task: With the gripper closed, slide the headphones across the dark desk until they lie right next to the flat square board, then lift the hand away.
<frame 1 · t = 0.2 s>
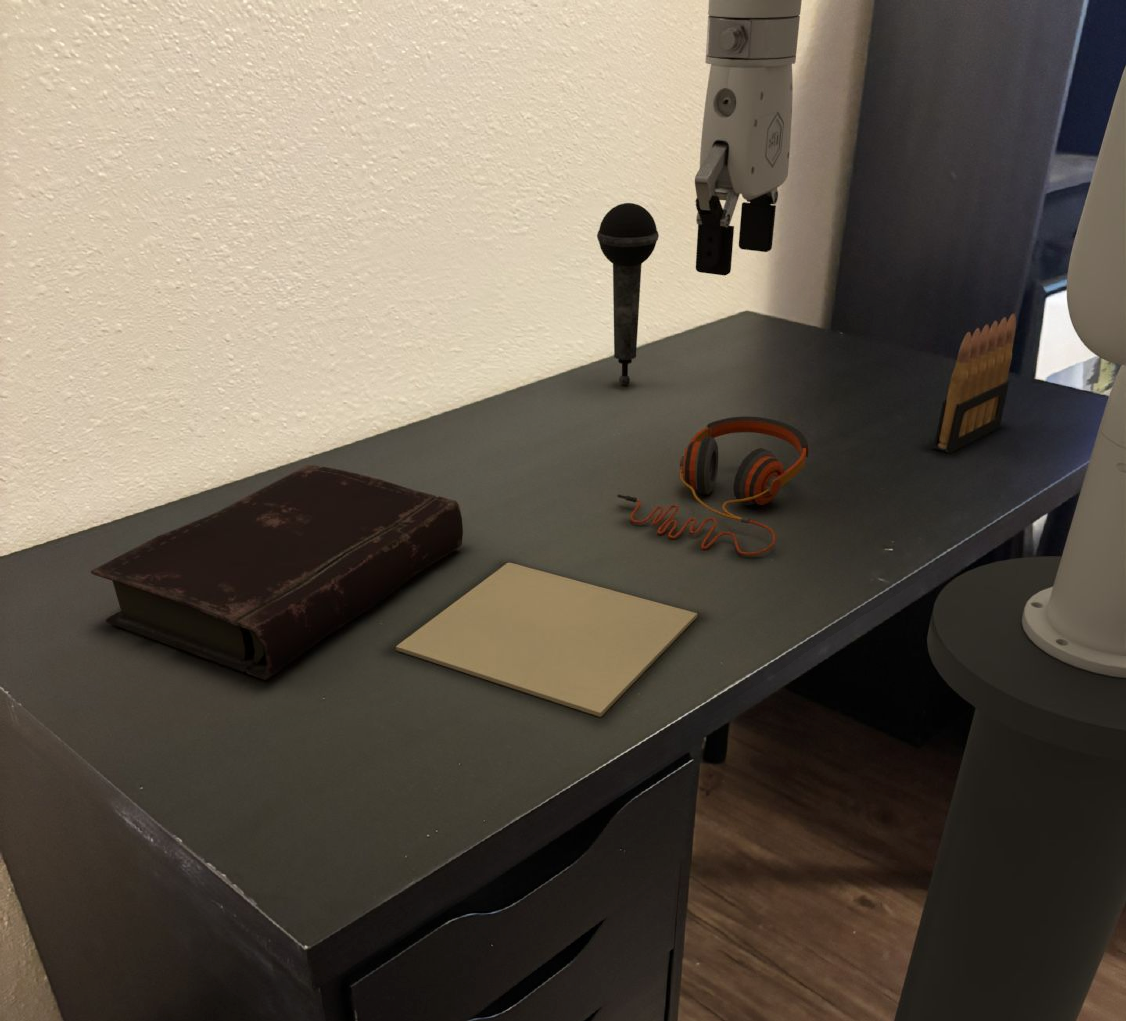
hand: (734, 261, 102), 19 cm above the table, tool pointing down, fingers open, 9 cm apart
ammunition clip: (966, 439, 119), on the table
diary: (293, 587, 94), on the table
flat square board: (549, 633, 87), on the table
microphone: (624, 387, 133), on the table
headphones: (723, 505, 106), on the table
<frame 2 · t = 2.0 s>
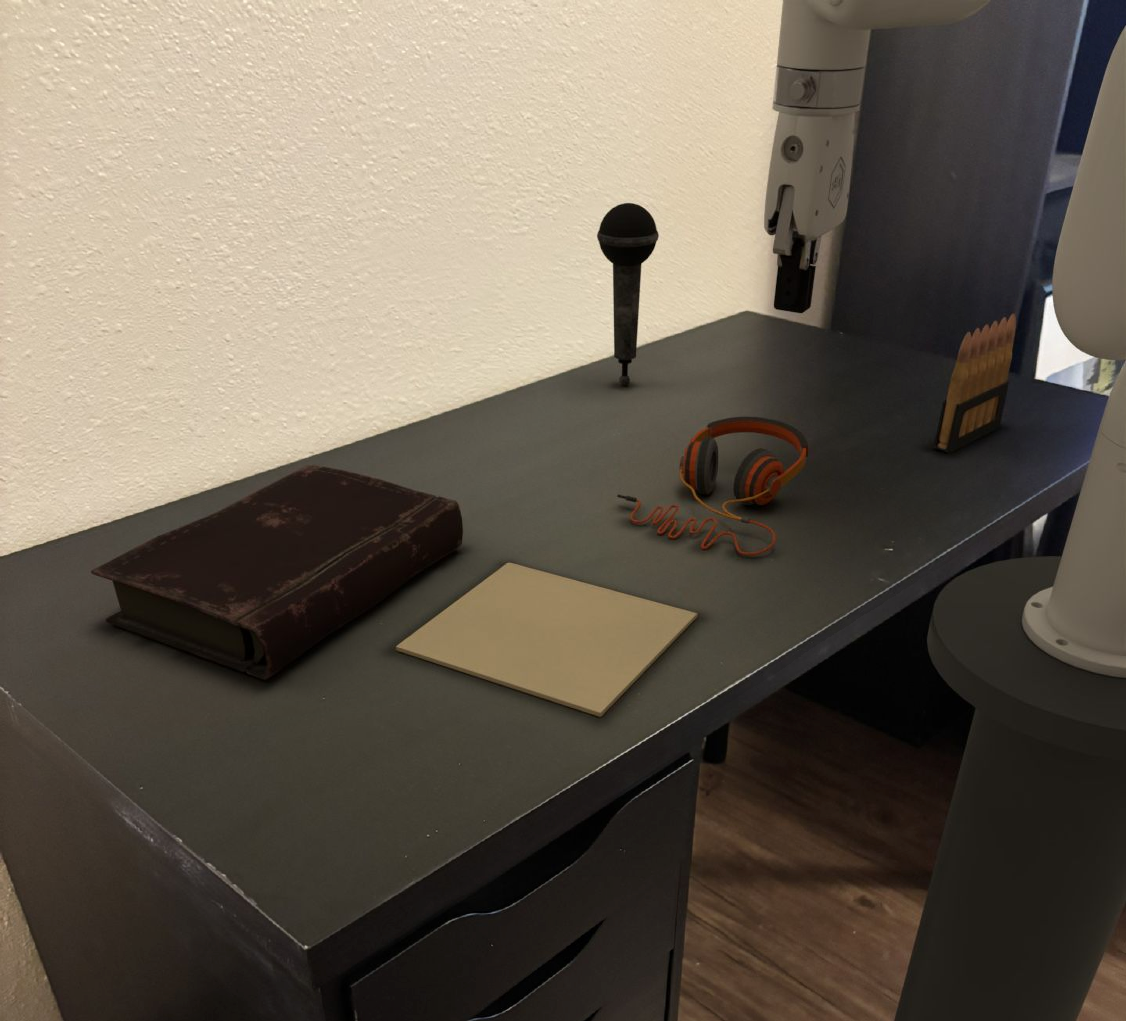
hand: (791, 308, 107), 15 cm above the table, tool pointing down, fingers closed
nothing on the table moved.
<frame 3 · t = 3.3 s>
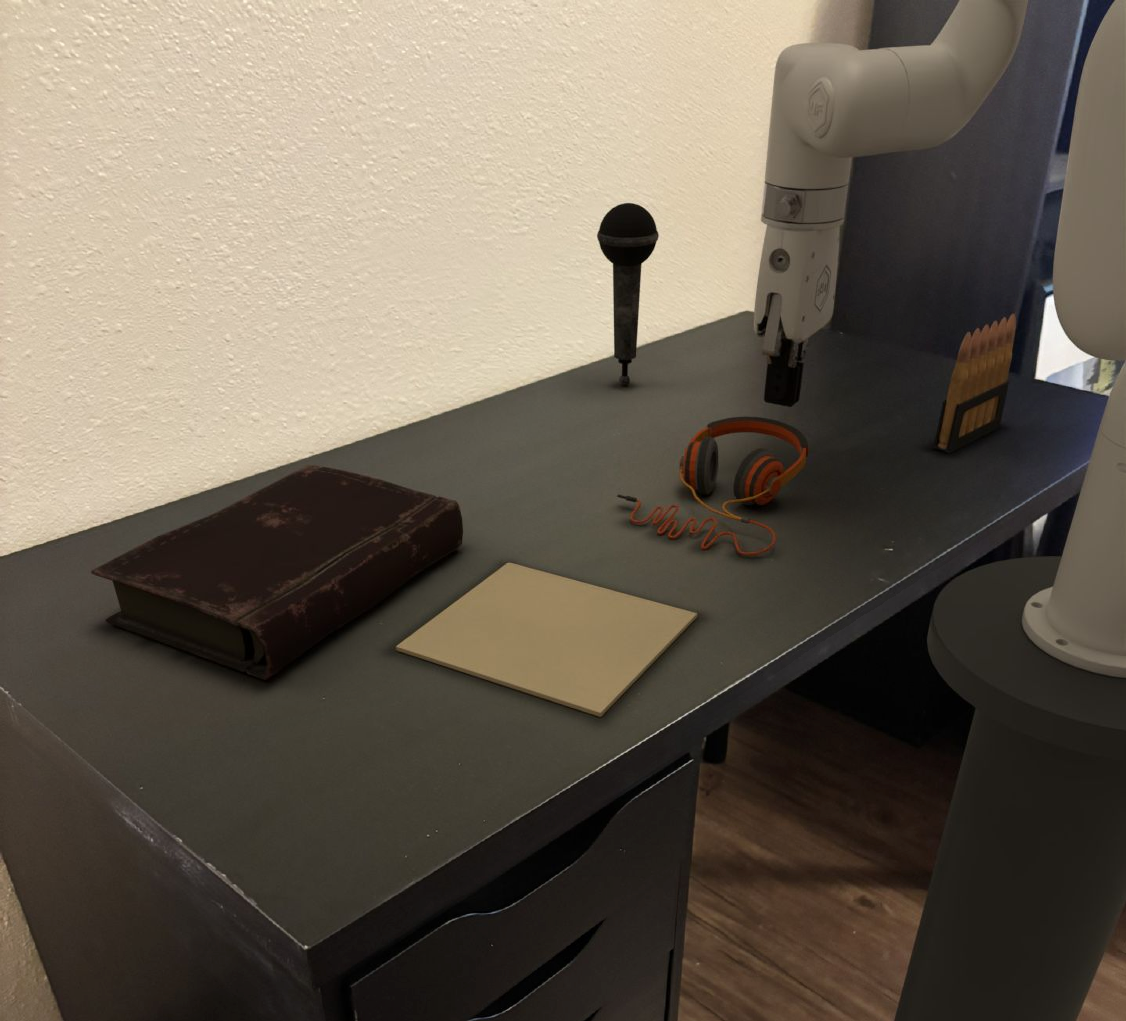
hand: (781, 401, 112), 6 cm above the table, tool pointing down, fingers closed
nothing on the table moved.
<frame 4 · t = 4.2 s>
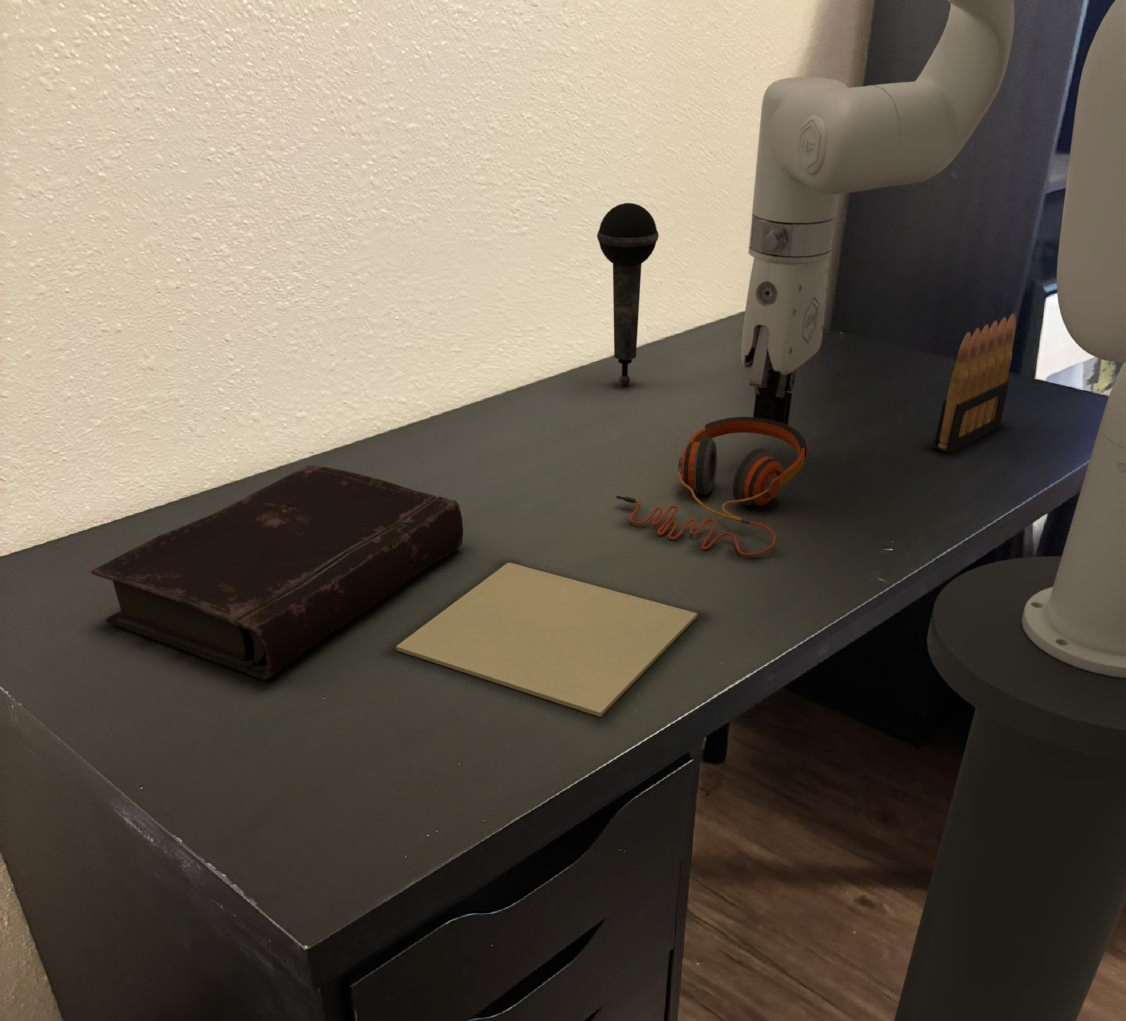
hand: (769, 431, 112), 3 cm above the table, tool pointing down, fingers closed
headphones: (722, 505, 106), on the table, touching gripper
everything else where it was.
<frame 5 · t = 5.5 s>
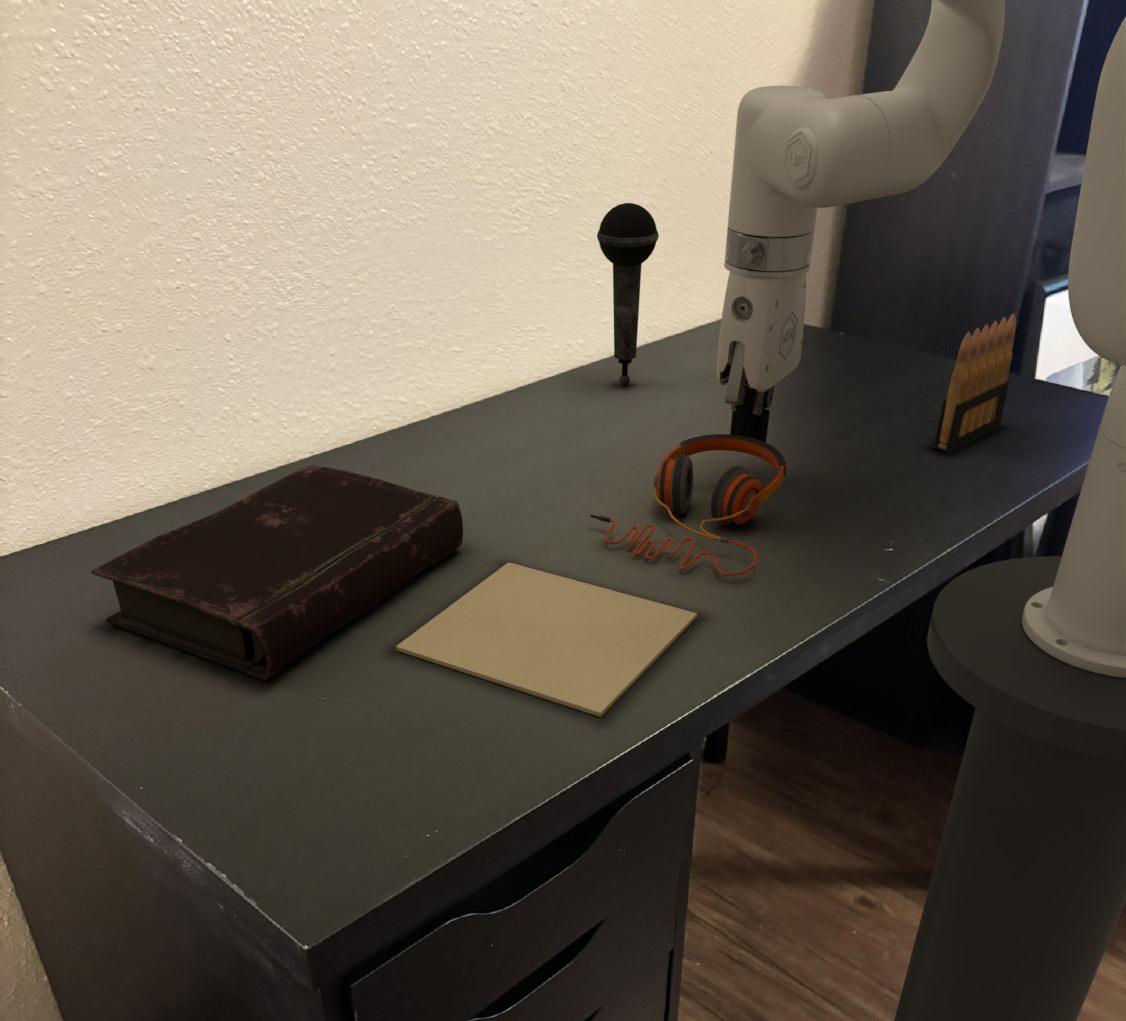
hand: (747, 448, 109), 3 cm above the table, tool pointing down, fingers closed
headphones: (699, 524, 102), on the table, touching gripper
everything else where it was.
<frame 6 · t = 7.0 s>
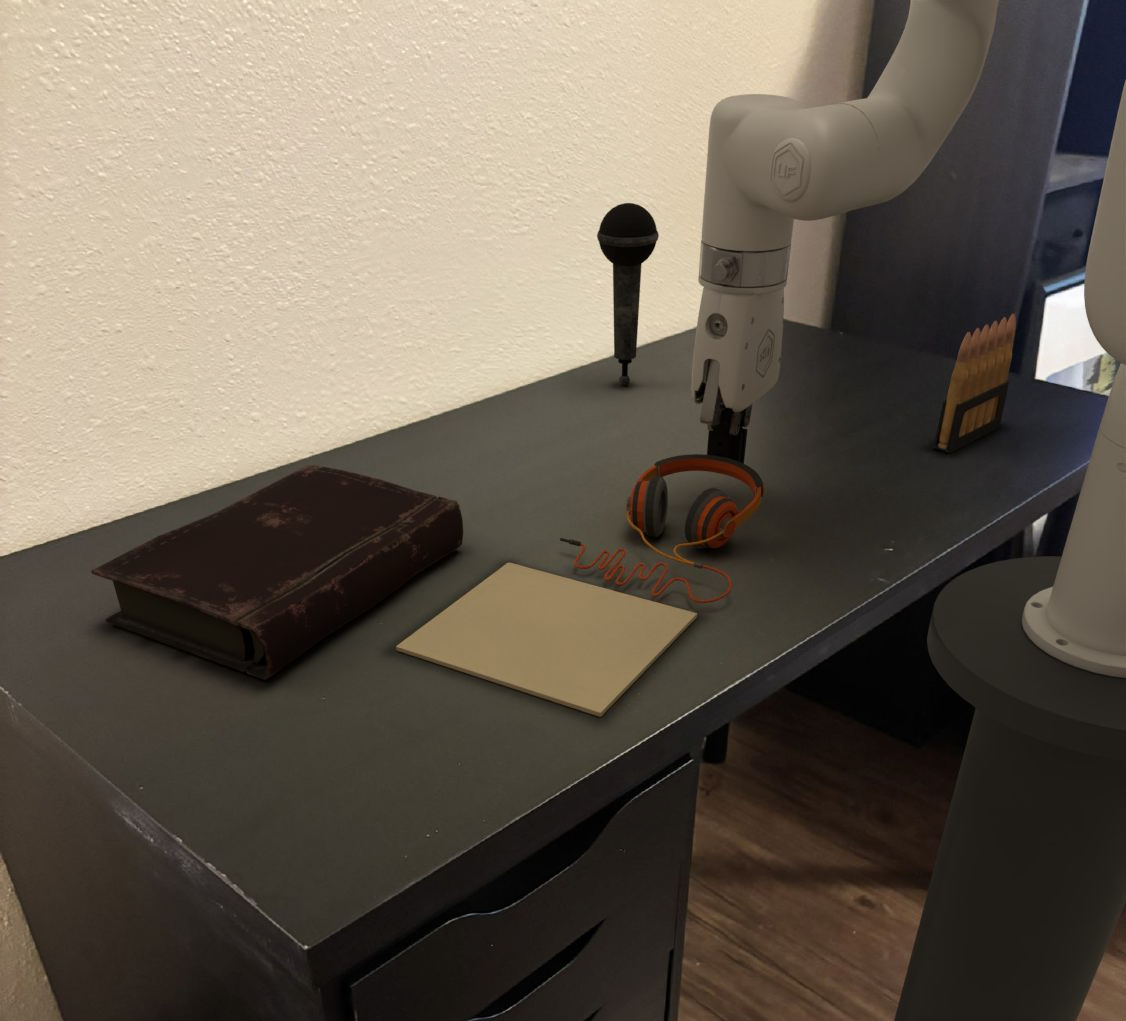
hand: (724, 468, 105), 3 cm above the table, tool pointing down, fingers closed
headphones: (674, 548, 98), on the table, touching gripper
everything else where it was.
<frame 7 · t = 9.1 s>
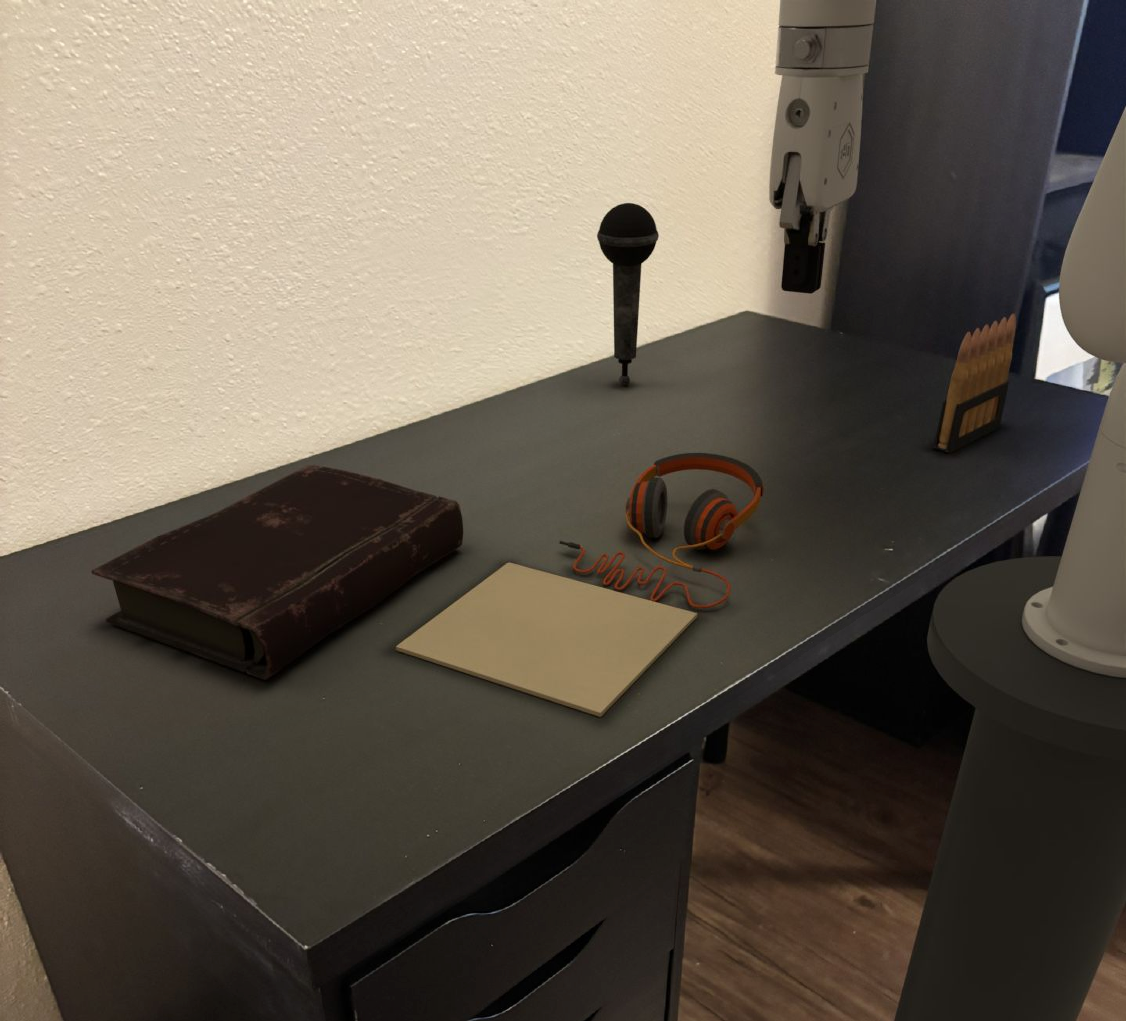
hand: (800, 289, 100), 18 cm above the table, tool pointing down, fingers closed
headphones: (673, 549, 99), on the table
everything else where it was.
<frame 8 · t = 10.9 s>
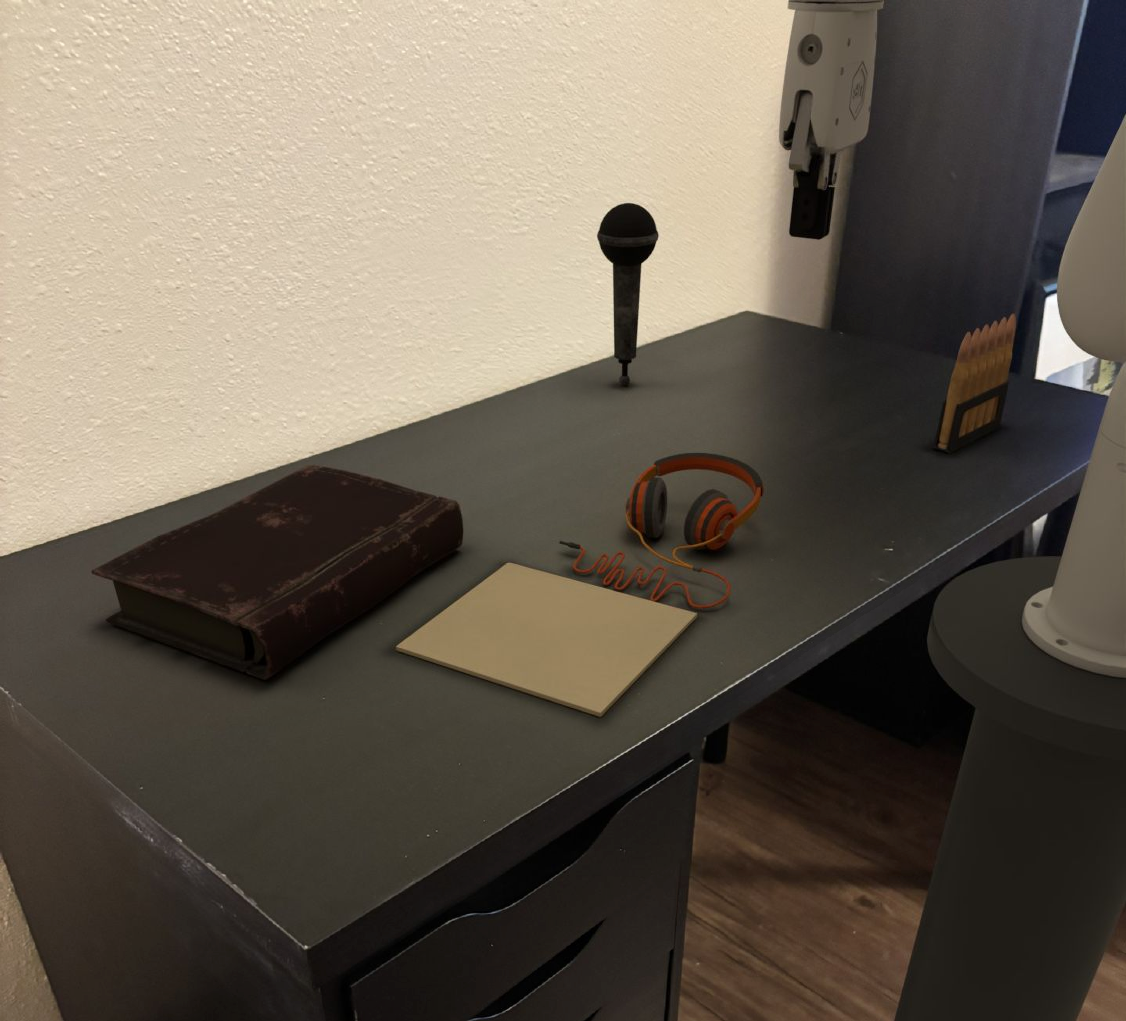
hand: (808, 235, 99), 22 cm above the table, tool pointing down, fingers closed
nothing on the table moved.
at the end: headphones 18.3 cm from the flat square board (horizontally); headphones inside the target area (1.6 cm from its centre), on the table; headphones moved 10.8 cm from its start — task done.
